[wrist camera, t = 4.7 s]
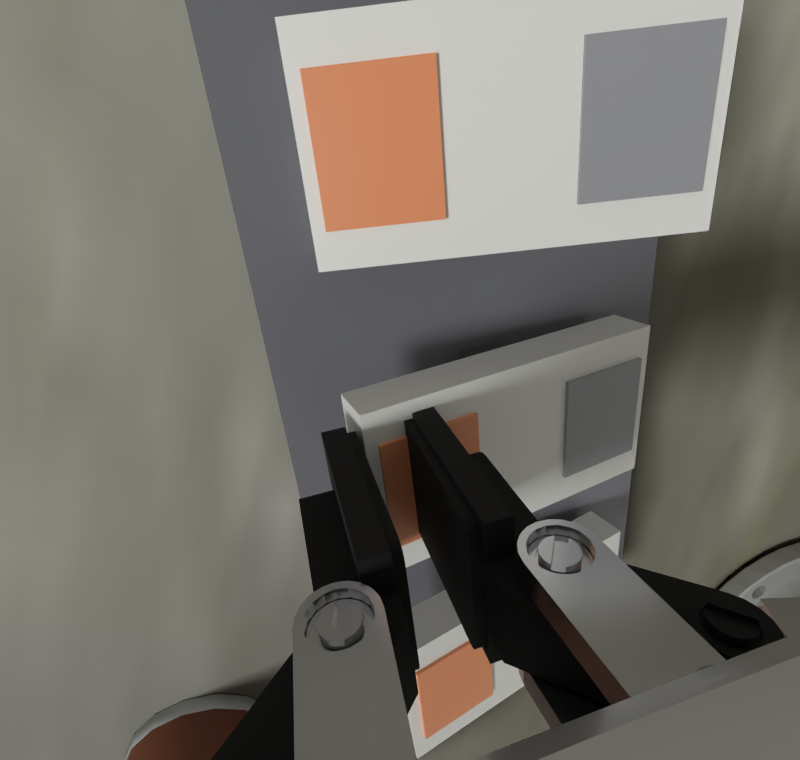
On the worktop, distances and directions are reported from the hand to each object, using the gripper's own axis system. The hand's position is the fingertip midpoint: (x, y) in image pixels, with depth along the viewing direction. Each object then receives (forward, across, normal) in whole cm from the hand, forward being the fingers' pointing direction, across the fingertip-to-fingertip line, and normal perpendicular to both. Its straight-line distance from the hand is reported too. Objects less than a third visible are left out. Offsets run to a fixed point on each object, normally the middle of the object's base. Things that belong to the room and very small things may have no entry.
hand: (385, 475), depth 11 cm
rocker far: (+1, -3, +7) cm, 8 cm away
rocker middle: (+1, -3, 0) cm, 3 cm away
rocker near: (+1, -4, -7) cm, 8 cm away
